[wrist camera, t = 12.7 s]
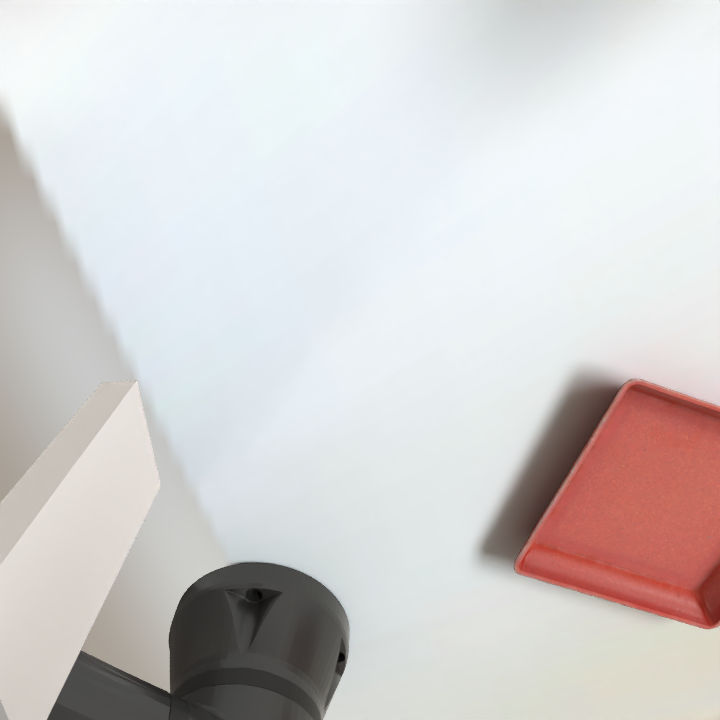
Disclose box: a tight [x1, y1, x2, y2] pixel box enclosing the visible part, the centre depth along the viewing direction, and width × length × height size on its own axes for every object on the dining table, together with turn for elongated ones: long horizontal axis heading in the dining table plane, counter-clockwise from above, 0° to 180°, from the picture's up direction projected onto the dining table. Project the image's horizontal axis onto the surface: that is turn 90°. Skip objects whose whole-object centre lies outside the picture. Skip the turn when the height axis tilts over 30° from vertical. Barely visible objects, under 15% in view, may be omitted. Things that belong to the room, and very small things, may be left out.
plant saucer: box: [514, 379, 720, 629], centre depth 48 cm, size 18×18×3 cm
